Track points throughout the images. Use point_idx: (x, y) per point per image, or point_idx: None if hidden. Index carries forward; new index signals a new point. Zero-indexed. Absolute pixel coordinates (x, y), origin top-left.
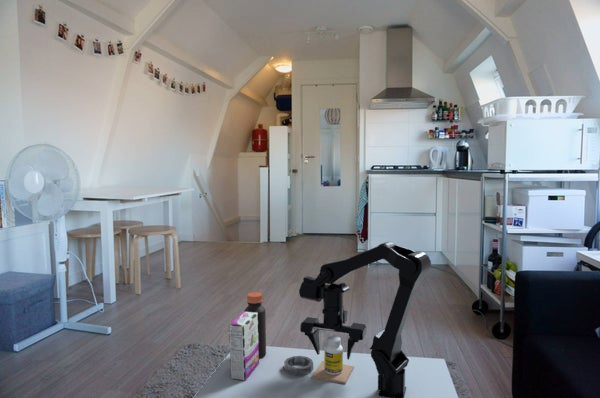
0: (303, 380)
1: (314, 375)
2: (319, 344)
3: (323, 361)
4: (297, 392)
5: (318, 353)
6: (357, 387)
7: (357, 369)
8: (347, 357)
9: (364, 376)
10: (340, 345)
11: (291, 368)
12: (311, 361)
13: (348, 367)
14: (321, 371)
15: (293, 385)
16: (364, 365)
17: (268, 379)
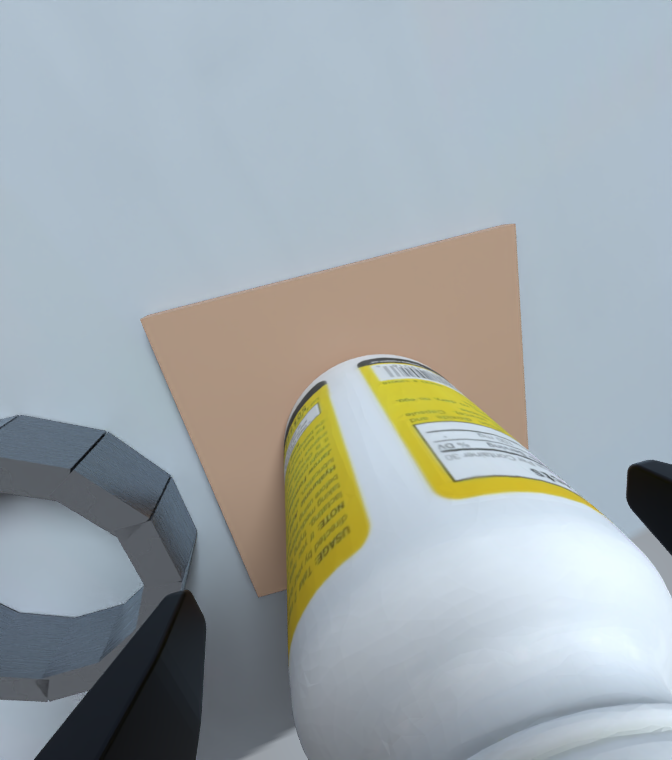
0: (231, 633)
1: (274, 582)
2: (112, 736)
3: (160, 320)
4: (295, 728)
5: (203, 643)
6: (611, 494)
7: (544, 228)
8: (659, 536)
9: (633, 321)
10: (660, 642)
11: (66, 695)
12: (110, 508)
13: (472, 286)
14: (282, 502)
15: (219, 702)
16: (593, 81)
17: (18, 750)
